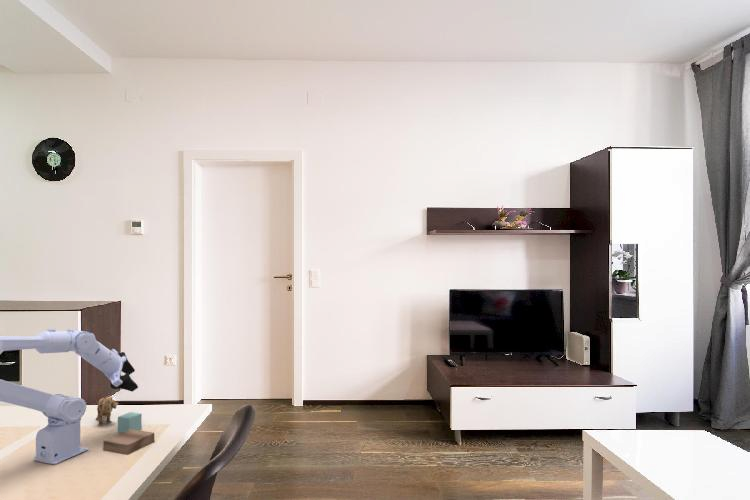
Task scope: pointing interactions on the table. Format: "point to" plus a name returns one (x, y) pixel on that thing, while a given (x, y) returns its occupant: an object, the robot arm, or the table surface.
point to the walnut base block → (128, 441)
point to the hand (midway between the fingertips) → (133, 380)
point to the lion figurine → (105, 409)
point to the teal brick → (129, 422)
